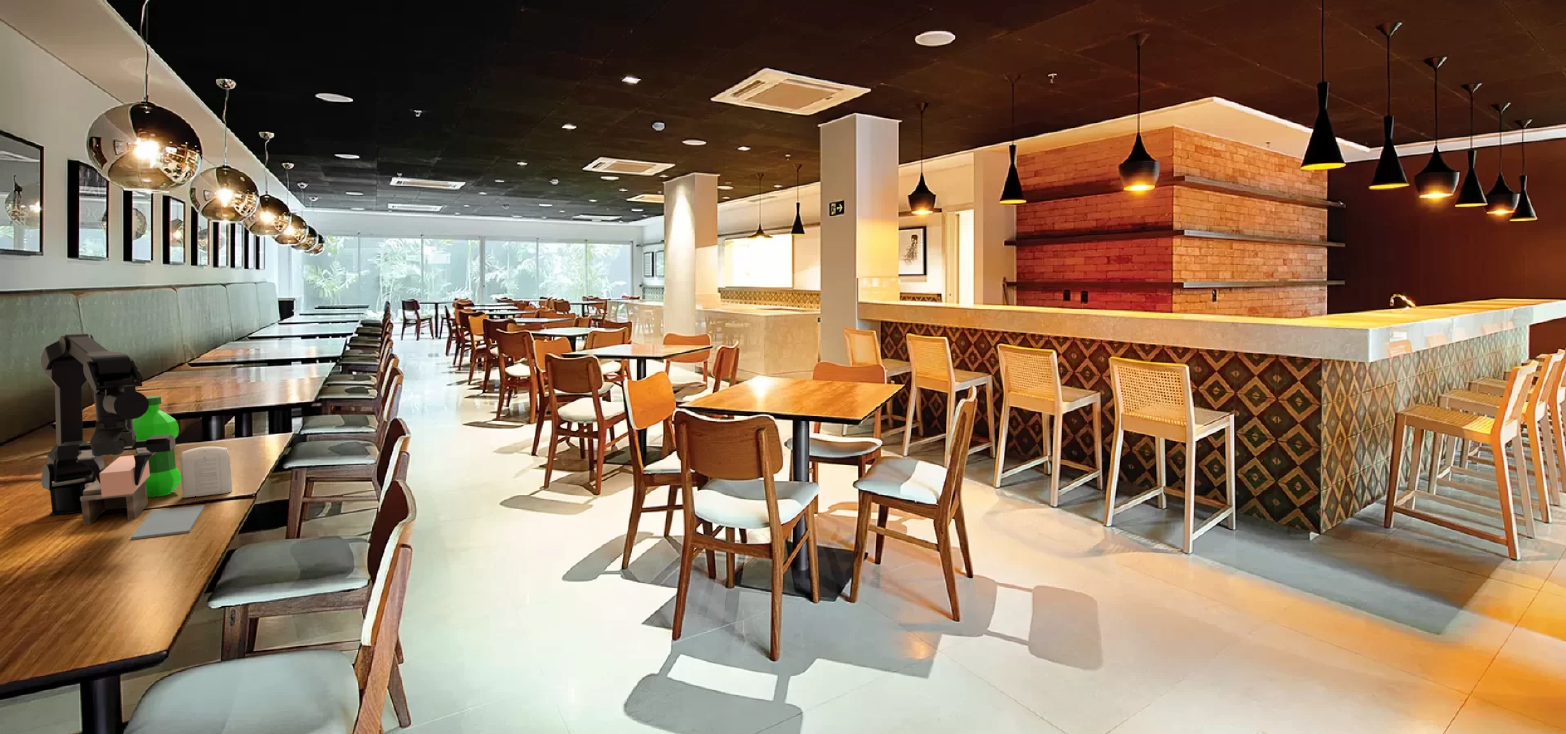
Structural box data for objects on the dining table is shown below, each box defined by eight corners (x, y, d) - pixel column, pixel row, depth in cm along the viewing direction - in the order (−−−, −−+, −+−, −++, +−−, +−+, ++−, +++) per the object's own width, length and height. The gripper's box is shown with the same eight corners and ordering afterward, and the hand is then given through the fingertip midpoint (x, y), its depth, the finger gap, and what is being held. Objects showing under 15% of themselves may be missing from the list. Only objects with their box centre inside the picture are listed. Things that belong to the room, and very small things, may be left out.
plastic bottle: (134, 502, 191) (124, 401, 188) (132, 493, 199) (123, 396, 196) (185, 494, 198) (177, 397, 195) (181, 486, 206) (173, 392, 203)
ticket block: (101, 496, 161) (99, 473, 160) (121, 478, 176) (119, 456, 175) (132, 493, 163) (130, 470, 163) (149, 475, 178) (147, 454, 177)
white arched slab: (233, 489, 203) (229, 443, 202) (232, 493, 199) (228, 446, 198) (183, 495, 197) (179, 447, 196) (182, 499, 194) (177, 450, 192)
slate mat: (130, 539, 165) (130, 537, 165) (152, 512, 183) (152, 510, 183) (189, 532, 169) (189, 530, 169) (204, 507, 188) (204, 505, 188)
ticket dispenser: (82, 525, 173) (79, 493, 172) (99, 509, 185) (96, 479, 184) (134, 519, 178) (131, 488, 177) (147, 504, 190) (145, 474, 189)
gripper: (40, 424, 152) (49, 502, 154) (160, 416, 160) (167, 490, 162) (60, 415, 162) (68, 488, 163) (172, 408, 170) (178, 478, 172)
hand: (121, 486), depth 165 cm, fingers closed on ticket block, 5 cm apart
